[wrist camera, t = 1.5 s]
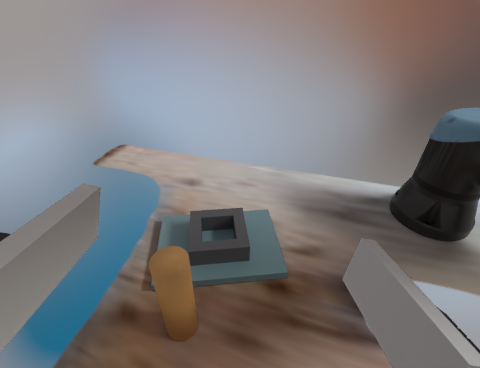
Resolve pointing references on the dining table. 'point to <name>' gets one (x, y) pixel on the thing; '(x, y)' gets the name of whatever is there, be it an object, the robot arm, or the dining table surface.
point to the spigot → (175, 291)
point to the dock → (231, 271)
